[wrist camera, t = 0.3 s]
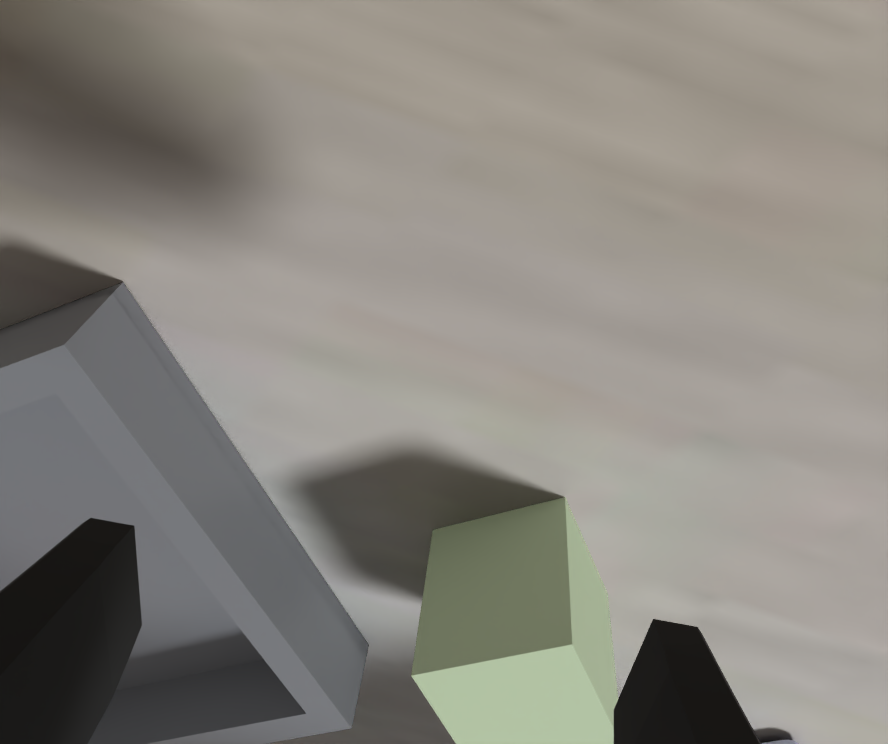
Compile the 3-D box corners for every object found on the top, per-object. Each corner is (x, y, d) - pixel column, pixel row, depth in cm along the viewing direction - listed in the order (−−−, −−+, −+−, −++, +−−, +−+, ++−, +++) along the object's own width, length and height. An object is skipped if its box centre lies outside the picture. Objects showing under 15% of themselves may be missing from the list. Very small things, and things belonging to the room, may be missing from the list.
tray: (368, 645, 27) (351, 728, 24) (35, 714, 30) (-10, 792, 28) (122, 281, 20) (64, 344, 17) (-262, 431, 24) (-355, 499, 21)
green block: (607, 592, 24) (622, 747, 20) (482, 619, 26) (473, 770, 21) (565, 496, 23) (572, 644, 18) (432, 529, 24) (410, 675, 19)
